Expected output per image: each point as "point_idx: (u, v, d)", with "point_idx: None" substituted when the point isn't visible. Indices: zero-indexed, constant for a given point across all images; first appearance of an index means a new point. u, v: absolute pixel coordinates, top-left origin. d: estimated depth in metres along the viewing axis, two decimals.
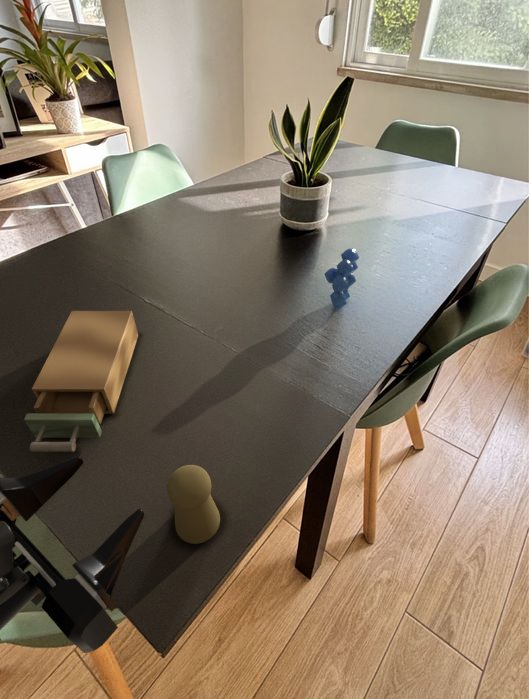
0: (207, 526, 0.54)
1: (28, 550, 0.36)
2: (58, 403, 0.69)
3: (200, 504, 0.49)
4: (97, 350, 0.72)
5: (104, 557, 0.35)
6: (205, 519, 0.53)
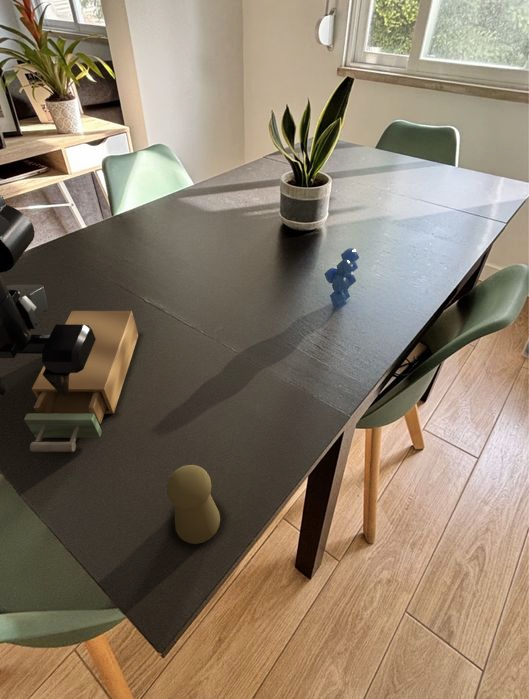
0: (207, 526, 0.54)
1: None
2: (58, 403, 0.69)
3: (200, 504, 0.49)
4: (97, 350, 0.72)
5: None
6: (205, 519, 0.53)
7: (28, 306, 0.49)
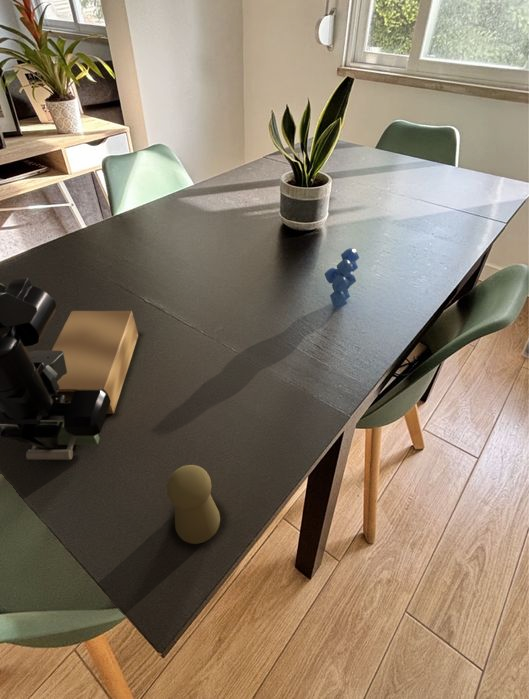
0: (207, 526, 0.54)
1: None
2: None
3: (200, 504, 0.49)
4: (97, 350, 0.72)
5: None
6: (205, 519, 0.53)
7: (51, 375, 0.55)
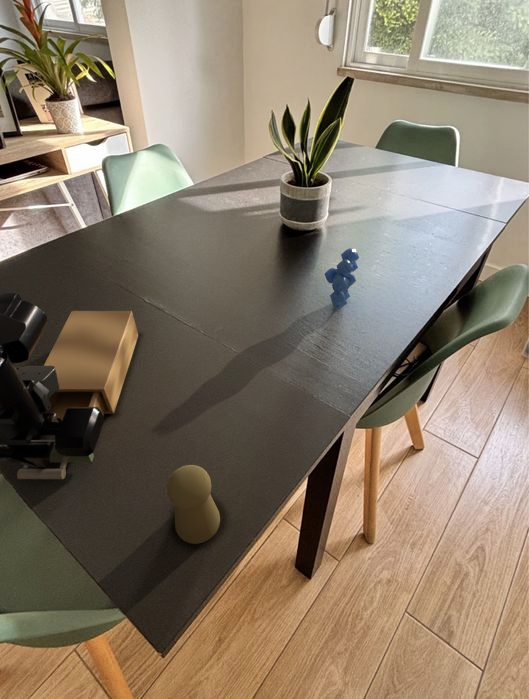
0: (207, 526, 0.54)
1: None
2: None
3: (200, 504, 0.49)
4: (97, 350, 0.72)
5: None
6: (205, 519, 0.53)
7: (41, 392, 0.53)
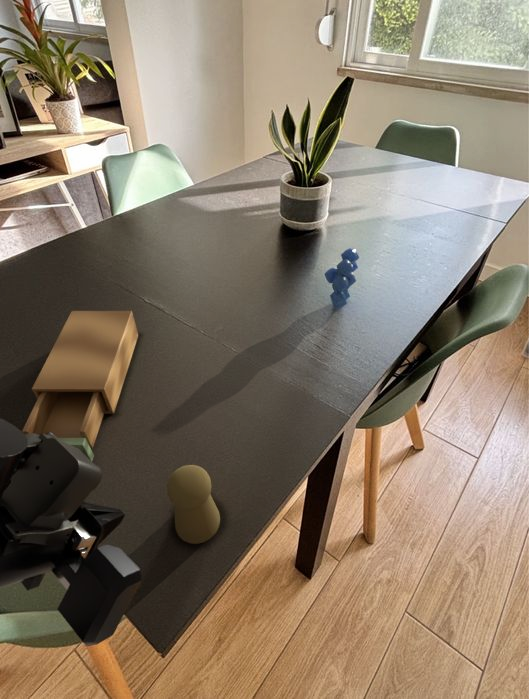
0: (207, 526, 0.54)
1: None
2: (48, 425, 0.66)
3: (200, 504, 0.49)
4: (97, 350, 0.72)
5: None
6: (205, 519, 0.53)
7: (42, 536, 0.32)
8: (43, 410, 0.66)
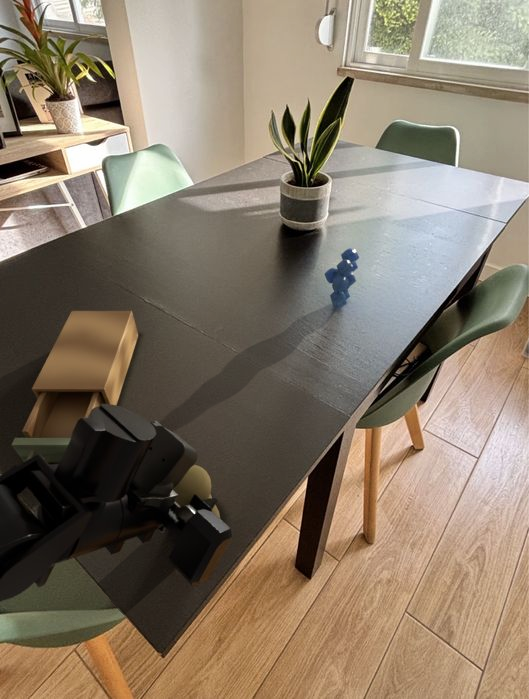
0: None
1: None
2: (48, 425, 0.66)
3: None
4: (97, 350, 0.72)
5: None
6: None
7: (158, 501, 0.41)
8: (43, 410, 0.66)
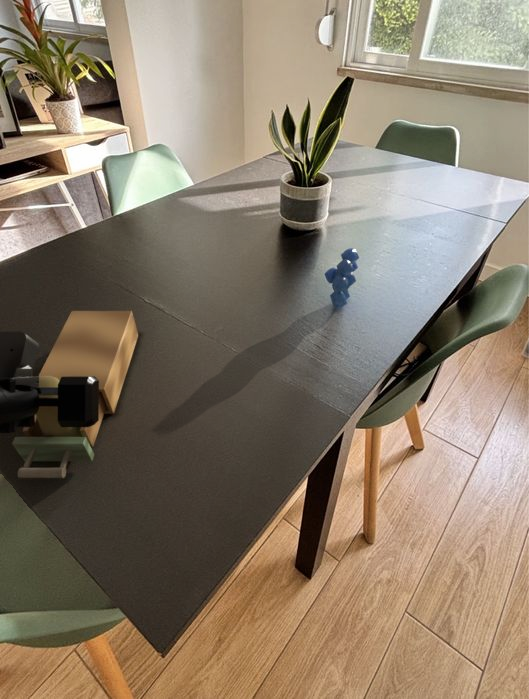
0: None
1: None
2: None
3: None
4: (97, 350, 0.72)
5: None
6: None
7: (25, 379, 0.49)
8: None
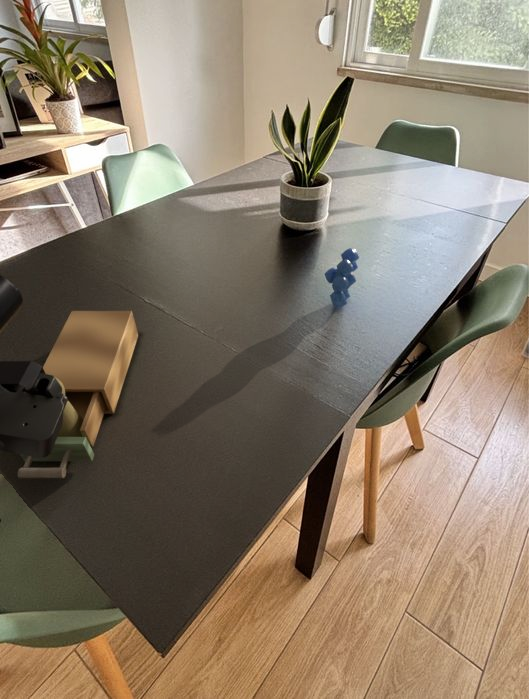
0: (77, 423, 0.63)
1: None
2: None
3: None
4: (97, 350, 0.72)
5: None
6: (72, 416, 0.62)
7: None
8: None
